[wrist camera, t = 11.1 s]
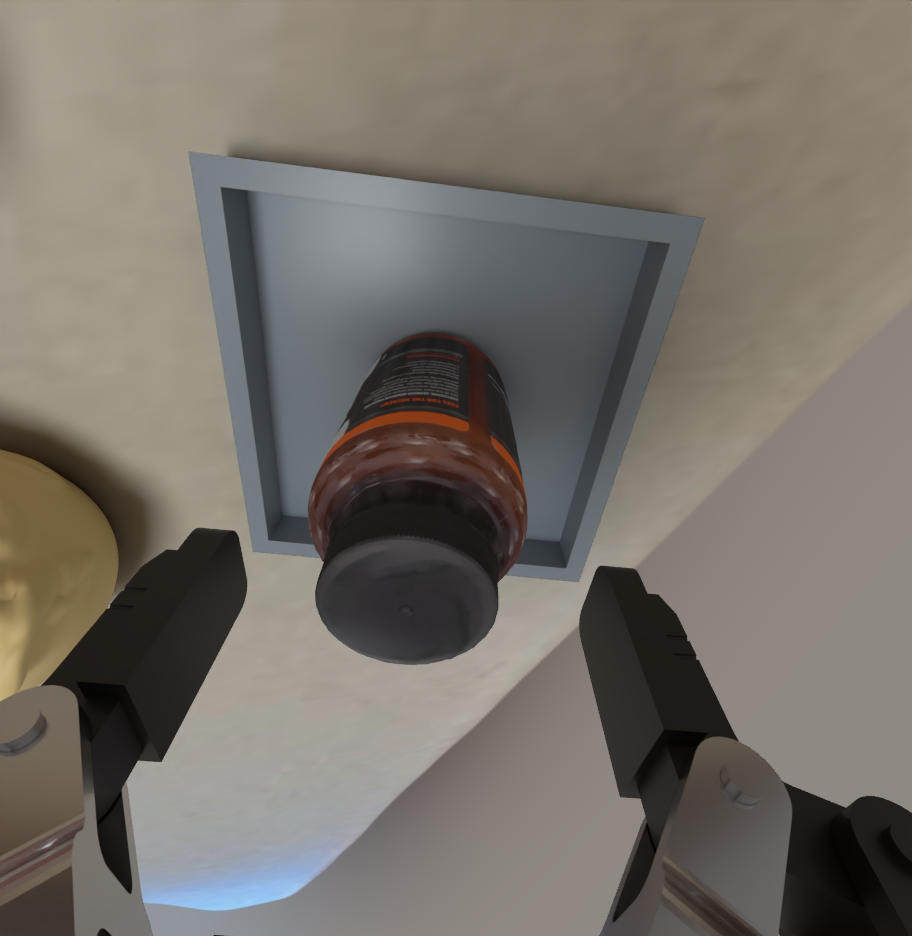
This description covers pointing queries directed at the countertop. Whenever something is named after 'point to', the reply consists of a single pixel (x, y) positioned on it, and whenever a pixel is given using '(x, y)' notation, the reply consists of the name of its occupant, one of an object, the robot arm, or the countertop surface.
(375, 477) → the supplement bottle
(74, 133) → the countertop surface
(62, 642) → the sculpture
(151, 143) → the countertop surface
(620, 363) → the tray
